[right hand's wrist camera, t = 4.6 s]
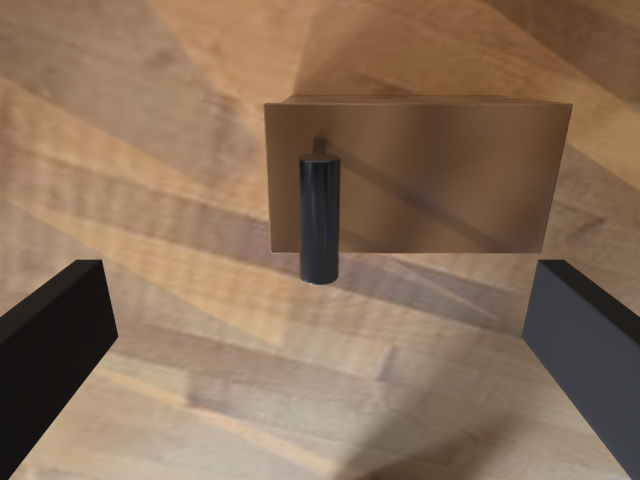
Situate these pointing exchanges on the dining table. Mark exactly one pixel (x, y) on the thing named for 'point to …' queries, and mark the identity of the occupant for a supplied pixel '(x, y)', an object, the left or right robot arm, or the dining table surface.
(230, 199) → the dining table surface
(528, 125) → the door
